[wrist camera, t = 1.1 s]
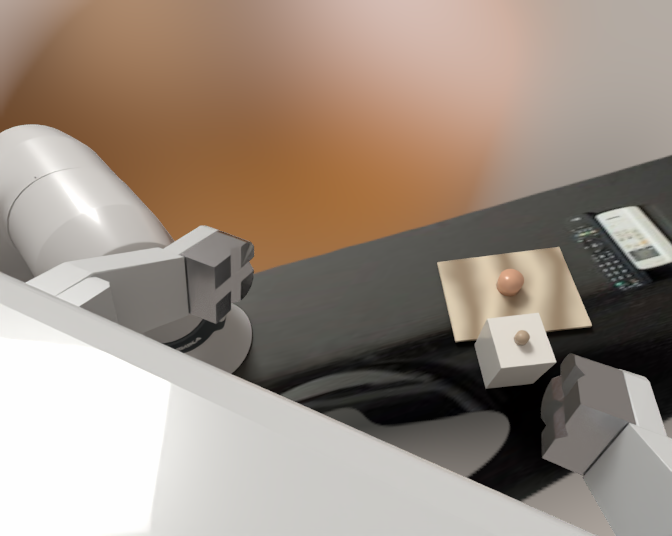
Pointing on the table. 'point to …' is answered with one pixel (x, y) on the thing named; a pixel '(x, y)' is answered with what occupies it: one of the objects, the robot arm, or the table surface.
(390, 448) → the robot arm
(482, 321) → the mat
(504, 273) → the egg
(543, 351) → the tall white canister
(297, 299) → the table surface
